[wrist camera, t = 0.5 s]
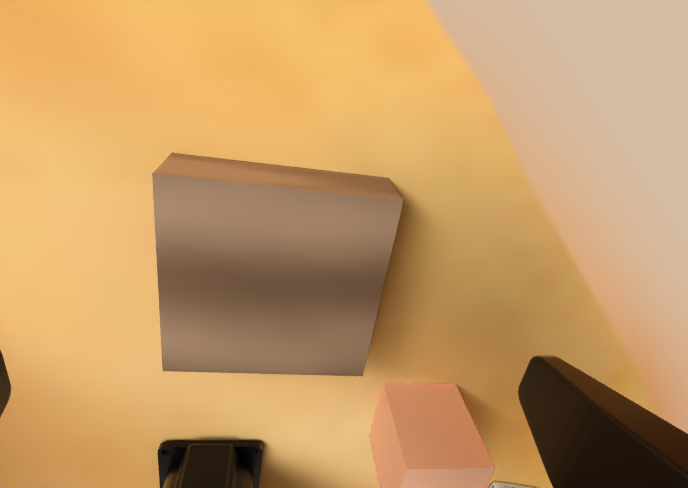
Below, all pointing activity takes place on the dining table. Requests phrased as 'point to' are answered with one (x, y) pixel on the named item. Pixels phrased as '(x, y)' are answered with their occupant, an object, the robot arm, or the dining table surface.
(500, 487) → the medicine box
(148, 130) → the dining table surface
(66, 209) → the dining table surface
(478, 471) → the terracotta block
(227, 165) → the walnut base
